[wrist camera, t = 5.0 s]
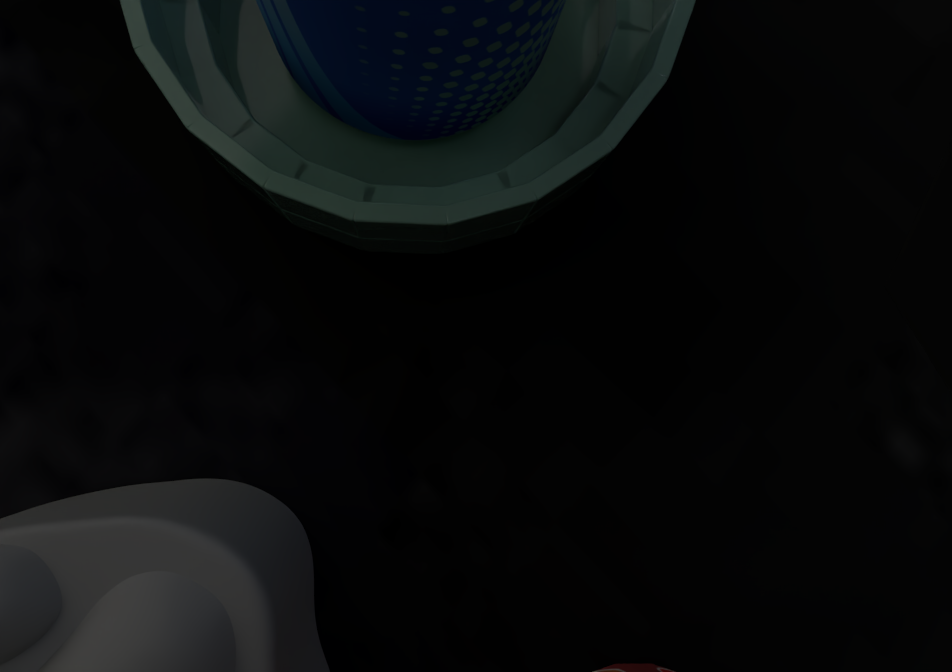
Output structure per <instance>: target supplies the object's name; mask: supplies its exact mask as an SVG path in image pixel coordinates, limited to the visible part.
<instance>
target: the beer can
mask: <svg viewBox="0 0 952 672" xmlns="http://www.w3.org/2000/svg"><path fill="white" fill-rule="evenodd" d="M256 2H257V4H258V7H259V9H260V11H261V14H262V16H263V18H264V21H265V23H266V25H267V28H268V30H269V32H270V35H271V37H272V39H273V42H274V44H275V46H276V49H277V51H278V53H279V55H280V57H281V59H282V61H283V63H284V65H285V67H286V68H287V70H288V71H289V73H290V74H291V76H292V78H293V79H294V80H295V81H296V83H297V84H298V85H299V86H300V88H301V89H302V90H303V91H304V92H305V93H306V94H307V95H308V96H309V97H310V98H311V99H312V100H313V101H314V102H315V103H316V104H317V105H319V106H320V107H321V108H322V109H323V110H325V111H326V112H328V113H329V114H331V115H332V116H333V117H335V118H337V119H338V120H340V121H342V122H344V123H345V124H347V125H349V126H352V127H354V128H356V129H358V130H361V131H364V132H367V133H370V134H373V135H376V136H381V137H385V138H391V139H398V140H431V139H437V138H443V137H447V136H451V135H455V134H458V133H461V132H464V131H467V130H469V129H472V128H474V127H476V126H478V125H480V124H482V123H484V122H485V121H487V120H489V119H490V118H492V117H494V116H495V115H496V114H498V113H499V112H500V111H502V110H503V109H504V108H506V107H507V106H508V105H509V104H510V103H511V102H512V101H513V100H514V99H515V98H516V97H517V96H518V95H519V94H520V93H521V92H522V91H523V89H524V88H525V87H526V86H527V84H528V83H529V82H530V80H531V79H532V77H533V76H534V74H535V72H536V71H537V69H538V67H539V65H540V64H541V61H542V59H543V57H544V54H545V52H546V50H547V47H548V45H549V42H550V40H551V37H552V35H553V32H554V29H555V27H556V24H557V22H558V19H559V17H560V14H561V12H562V9H563V7H564V4H565V2H566V0H256Z"/></svg>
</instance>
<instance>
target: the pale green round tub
mask: <svg viewBox="0 0 952 672" xmlns="http://www.w3.org/2000/svg"><path fill="white" fill-rule="evenodd" d="M695 2H696V0H566V2H565V4H564V7H563V9H562V12H561V14H560V17H559V19H558V22H557V24H556V27H555V29H554V32H553V35H552V37H551V40H550V42H549V45H548V47H547V50H546V52H545V54H544V57H543V59H542V61H541V64H540V65H539V67H538V69H537V71H536V72H535V74H534V76H533V77H532V79H531V80H530V82H529V83H528V84H527V86H526V87H525V88H524V89H523V91H522V92H521V93H520V94H519V95H518V96H517V97H516V98H515V99H514V100H513V101H512V102H511V103H510V104H509V105H508V106H507V107H506V108H504V109H503V110H502V111H500V112H499V113H498V114H496V115H495V116H494V117H492V118H490V119H489V120H487V121H485V122H484V123H482V124H480V125H478V126H476V127H474V128H472V129H469V130H467V131H464V132H461V133H458V134H455V135H451V136H447V137H443V138H437V139H431V140H398V139H391V138H385V137H381V136H376V135H373V134H370V133H367V132H364V131H361V130H358V129H356V128H354V127H352V126H349V125H347V124H345V123H344V122H342V121H340V120H338V119H337V118H335V117H333V116H332V115H331V114H329V113H328V112H326V111H325V110H323V109H322V108H321V107H320V106H319V105H317V104H316V103H315V102H314V101H313V100H312V99H311V98H310V97H309V96H308V95H307V94H306V93H305V92H304V91H303V90H302V89H301V88H300V86H299V85H298V84H297V83H296V81H295V80H294V79H293V78H292V76H291V74H290V73H289V71H288V70H287V68H286V67H285V65H284V63H283V61H282V59H281V57H280V55H279V53H278V51H277V49H276V46H275V44H274V42H273V39H272V37H271V35H270V32H269V30H268V28H267V25H266V23H265V21H264V18H263V16H262V14H261V11H260V9H259V7H258V4H257V2H256V0H120V3H121V7H122V10H123V14H124V17H125V21H126V25H127V28H128V32H129V35H130V39H131V42H132V46H133V49H134V50H135V53H136V55H137V56H138V58H139V59H140V60H141V62H142V63H143V65H144V66H145V68H146V69H147V71H148V72H149V74H150V75H151V77H152V78H153V80H154V81H155V83H156V84H157V86H158V87H159V89H160V90H161V92H162V93H163V94H164V96H165V97H166V99H167V100H168V102H169V103H170V105H171V106H172V108H173V109H174V111H175V112H176V114H177V115H178V117H179V118H180V120H181V121H182V123H183V124H184V126H185V127H186V128H187V129H188V130H189V131H190V133H191V134H192V135H193V136H194V137H195V138H196V139H197V140H198V141H199V142H200V143H201V144H202V145H203V147H204V148H205V149H206V150H207V151H208V152H209V153H210V154H211V155H212V156H213V157H214V158H215V159H216V160H217V161H218V162H219V163H220V164H221V166H222V167H223V168H224V169H225V170H226V171H227V172H228V173H229V174H230V175H231V176H232V177H233V178H234V179H235V180H236V181H237V182H239V183H240V184H241V185H242V186H244V187H245V188H246V189H248V190H249V191H250V192H251V193H253V194H254V195H255V196H257V197H258V198H259V199H260V200H262V201H263V202H264V203H265V204H267V205H268V206H269V207H271V208H272V209H273V210H274V211H276V212H277V213H278V214H280V215H281V216H282V217H283V218H285V219H286V220H287V221H289V222H290V223H293V224H294V225H295V226H297V227H300V228H303V229H306V230H308V231H311V232H314V233H316V234H319V235H322V236H325V237H327V238H330V239H333V240H336V241H338V242H341V243H344V244H346V245H349V246H352V247H355V248H357V249H360V250H363V251H365V250H366V251H368V252H392V253H416V254H442V253H449V252H452V251H456V250H459V249H463V248H467V247H470V246H474V245H477V244H481V243H485V242H488V241H492V240H495V239H499V238H502V237H506V236H510V235H512V234H513V233H514V234H516V233H517V232H519V231H520V230H522V229H523V228H525V227H526V226H528V225H529V224H531V223H532V222H534V221H535V220H537V219H538V218H540V217H541V216H543V215H544V214H546V213H547V212H549V211H550V210H552V209H553V208H555V207H556V206H558V205H559V204H561V203H562V202H564V201H565V200H567V199H568V198H570V197H571V196H573V195H574V194H575V193H576V192H577V191H578V190H579V189H580V188H581V187H582V186H583V185H584V183H585V182H586V181H587V180H588V179H589V178H590V176H591V175H592V174H593V173H594V172H595V171H596V170H597V168H598V167H599V166H600V165H601V164H602V163H603V161H604V160H605V159H606V158H607V157H608V156H609V154H610V153H611V152H612V151H613V150H614V149H615V147H616V146H617V145H618V143H619V142H620V141H621V140H622V138H623V137H624V136H625V134H626V133H627V132H628V131H629V129H630V128H631V127H632V125H633V124H634V123H635V122H636V120H637V119H638V118H639V116H640V115H641V114H642V113H643V111H644V110H645V109H646V107H647V106H648V105H649V104H650V102H651V101H652V100H653V99H654V97H655V96H656V95H657V93H658V92H659V91H660V90H661V88H662V87H663V86H664V84H665V83H666V82H667V79H668V78H669V76H670V73H671V70H672V67H673V64H674V61H675V59H676V56H677V53H678V50H679V47H680V44H681V42H682V39H683V36H684V33H685V30H686V27H687V25H688V22H689V19H690V16H691V13H692V10H693V8H694V5H695Z"/></svg>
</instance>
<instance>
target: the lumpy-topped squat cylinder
mask: <svg viewBox="0 0 952 672" xmlns="http://www.w3.org/2000/svg"><path fill="white" fill-rule="evenodd" d="M0 672H330V670H329V667H328V664H327V662H326V659H325V656H324V653H323V650H322V647H321V644H320V640H319V636H318V632H317V627H316V620H315V609H314V569H313V559H312V552H311V547H310V543H309V540H308V537H307V534H306V532H305V530H304V528H303V526H302V524H301V522H300V521H299V519H298V518H297V517H296V516H295V514H294V513H293V512H292V511H291V510H290V509H289V508H288V507H287V506H286V505H284V504H283V503H282V502H281V501H279V500H278V499H276V498H275V497H273V496H272V495H270V494H268V493H266V492H265V491H263V490H260V489H258V488H256V487H253V486H251V485H248V484H244V483H241V482H236V481H231V480H224V479H188V480H178V481H168V482H158V483H147V484H138V485H130V486H124V487H118V488H112V489H107V490H102V491H97V492H92V493H87V494H83V495H78V496H74V497H70V498H66V499H62V500H58V501H54V502H51V503H47V504H44V505H40V506H37V507H34V508H31V509H28V510H25V511H22V512H19V513H16V514H13V515H10V516H7V517H4V518H1V519H0Z"/></svg>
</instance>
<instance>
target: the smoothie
mask: <svg viewBox="0 0 952 672" xmlns="http://www.w3.org/2000/svg"><path fill="white" fill-rule="evenodd" d="M593 672H676V671H673V670H670V669H667V668H664V667H660V666H657V665H654V664H613V665H610V666H607V667H605V668H602V669H599V670H596V671H593Z"/></svg>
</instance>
